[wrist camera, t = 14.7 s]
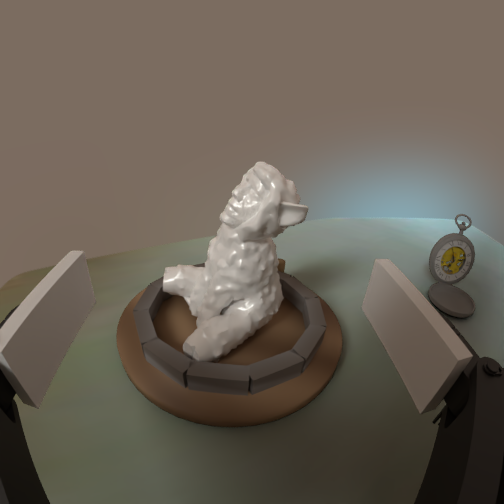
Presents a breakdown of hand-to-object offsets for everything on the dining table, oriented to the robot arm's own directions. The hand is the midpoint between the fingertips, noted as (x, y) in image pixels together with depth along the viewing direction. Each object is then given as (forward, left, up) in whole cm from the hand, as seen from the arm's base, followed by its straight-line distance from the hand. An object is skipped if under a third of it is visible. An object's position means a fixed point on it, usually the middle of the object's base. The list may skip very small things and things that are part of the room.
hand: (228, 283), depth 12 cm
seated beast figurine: (-6, -5, -8) cm, 11 cm away
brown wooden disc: (-6, -4, -9) cm, 12 cm away
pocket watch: (-24, +15, -9) cm, 30 cm away
